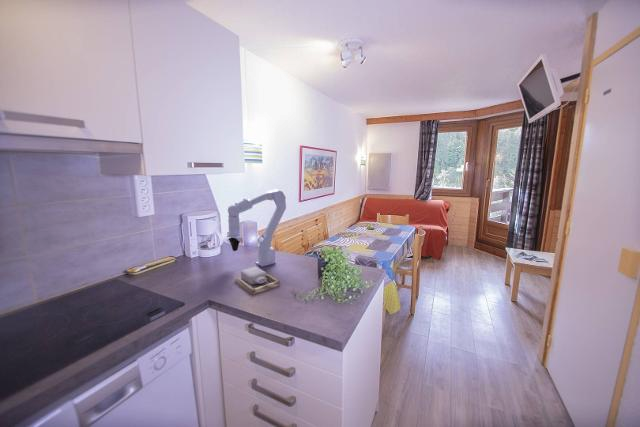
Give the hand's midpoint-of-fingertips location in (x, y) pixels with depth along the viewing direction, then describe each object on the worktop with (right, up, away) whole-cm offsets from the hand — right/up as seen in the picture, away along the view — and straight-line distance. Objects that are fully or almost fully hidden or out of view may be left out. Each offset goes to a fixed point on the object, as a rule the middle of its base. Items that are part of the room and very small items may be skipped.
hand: (235, 250), depth 145 cm
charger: (+16, -13, -16) cm, 26 cm away
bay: (+16, -13, -17) cm, 27 cm away
